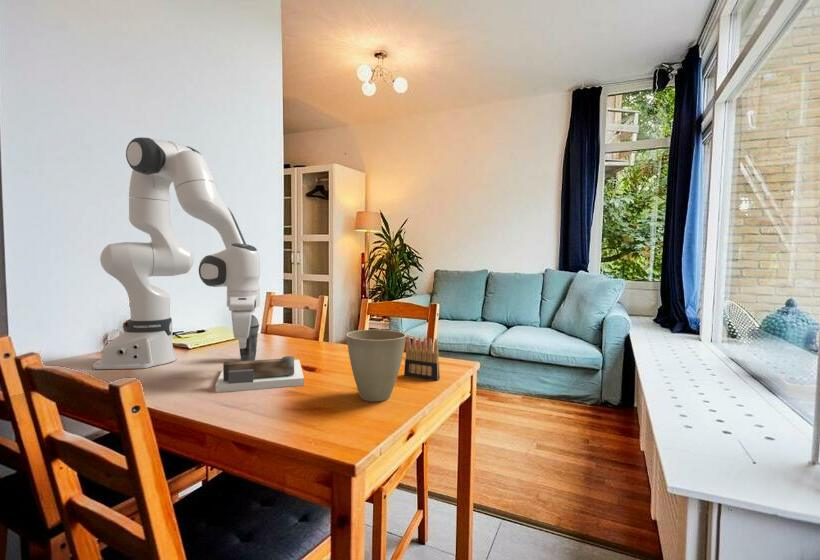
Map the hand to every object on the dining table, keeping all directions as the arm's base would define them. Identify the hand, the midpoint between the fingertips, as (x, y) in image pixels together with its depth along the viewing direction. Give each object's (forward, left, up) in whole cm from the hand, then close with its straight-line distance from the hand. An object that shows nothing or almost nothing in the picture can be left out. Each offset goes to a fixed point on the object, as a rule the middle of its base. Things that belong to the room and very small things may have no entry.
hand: (242, 347), depth 122 cm
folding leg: (+5, -10, -6) cm, 13 cm away
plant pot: (+33, -29, -9) cm, 45 cm away
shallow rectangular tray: (+5, -3, -9) cm, 10 cm away
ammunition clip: (+50, -16, -9) cm, 53 cm away
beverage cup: (0, +20, -9) cm, 22 cm away
